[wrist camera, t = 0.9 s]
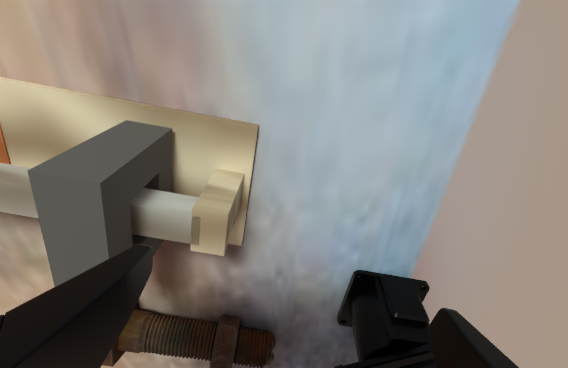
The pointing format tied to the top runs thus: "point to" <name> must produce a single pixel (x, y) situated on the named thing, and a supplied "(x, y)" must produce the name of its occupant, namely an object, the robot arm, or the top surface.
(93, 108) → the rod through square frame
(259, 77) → the top surface
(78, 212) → the grey square collar
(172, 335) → the bolt
